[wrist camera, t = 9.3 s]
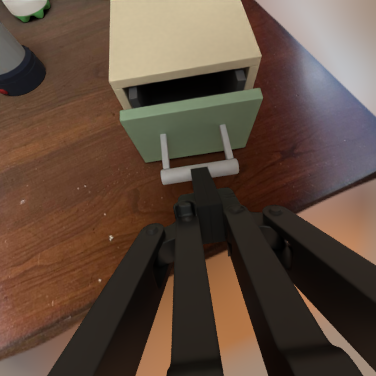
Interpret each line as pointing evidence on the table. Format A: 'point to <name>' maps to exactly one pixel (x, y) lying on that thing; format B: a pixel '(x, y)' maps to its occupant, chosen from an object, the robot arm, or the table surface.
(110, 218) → the table surface
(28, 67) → the humidifier
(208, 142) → the drawer
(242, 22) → the cabinet
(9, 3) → the cup
